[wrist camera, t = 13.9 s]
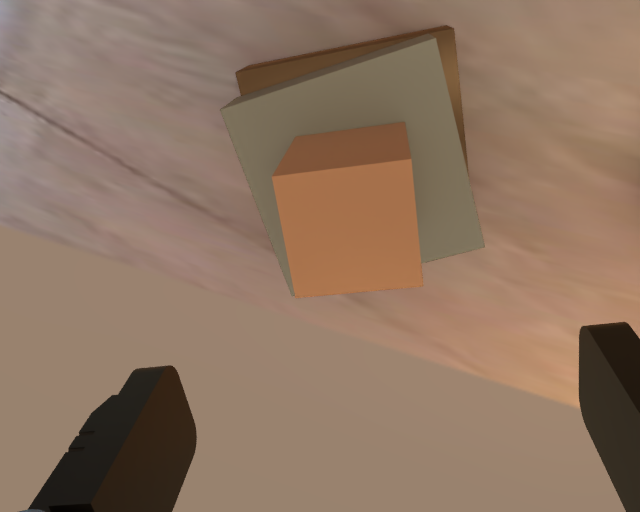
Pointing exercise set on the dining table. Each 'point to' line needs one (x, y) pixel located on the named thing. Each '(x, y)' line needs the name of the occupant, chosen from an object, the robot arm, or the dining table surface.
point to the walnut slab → (303, 64)
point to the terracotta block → (349, 211)
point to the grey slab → (357, 112)
